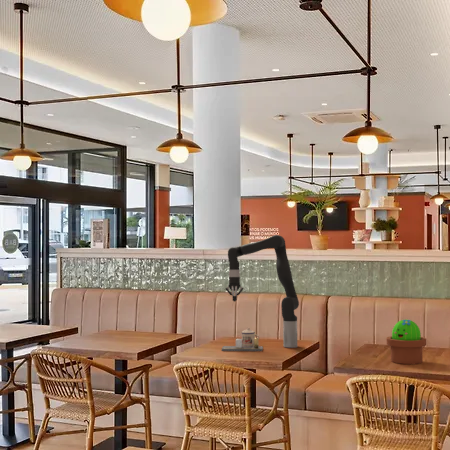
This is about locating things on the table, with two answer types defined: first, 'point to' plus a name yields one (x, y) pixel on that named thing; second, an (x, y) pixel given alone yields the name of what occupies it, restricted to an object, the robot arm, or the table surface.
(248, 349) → the plate
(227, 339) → the table surface
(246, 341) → the teacup with lid
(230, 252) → the robot arm
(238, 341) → the light grey block
